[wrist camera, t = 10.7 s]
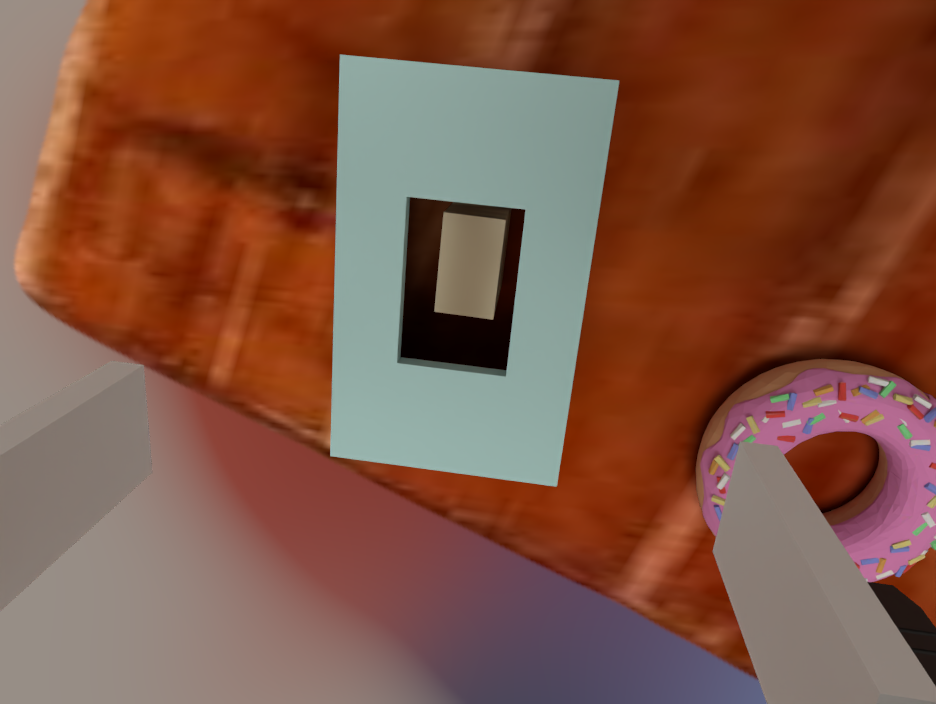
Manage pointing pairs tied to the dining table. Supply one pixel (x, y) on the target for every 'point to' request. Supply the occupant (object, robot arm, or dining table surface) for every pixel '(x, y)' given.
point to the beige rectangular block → (472, 259)
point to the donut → (828, 410)
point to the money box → (475, 182)
